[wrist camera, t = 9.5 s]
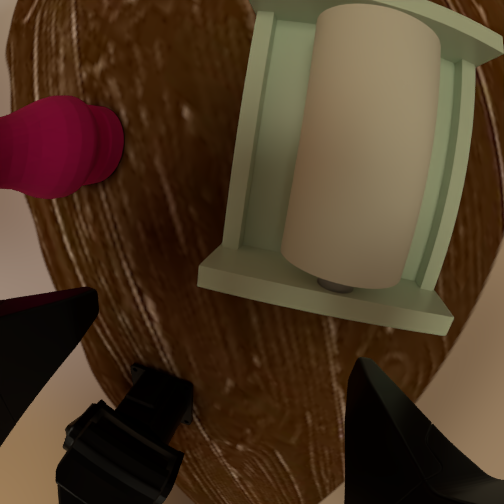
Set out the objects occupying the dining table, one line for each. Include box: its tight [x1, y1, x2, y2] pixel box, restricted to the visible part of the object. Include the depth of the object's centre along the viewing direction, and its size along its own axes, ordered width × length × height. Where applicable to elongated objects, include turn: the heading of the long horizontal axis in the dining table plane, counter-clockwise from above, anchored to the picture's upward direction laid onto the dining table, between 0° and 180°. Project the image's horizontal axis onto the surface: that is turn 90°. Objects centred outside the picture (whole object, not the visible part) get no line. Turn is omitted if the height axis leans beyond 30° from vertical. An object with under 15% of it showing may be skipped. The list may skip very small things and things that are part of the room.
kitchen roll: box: [280, 4, 441, 289], centre depth 13 cm, size 13×6×6 cm, turn 171°
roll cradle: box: [197, 0, 504, 336], centre depth 14 cm, size 18×14×6 cm
